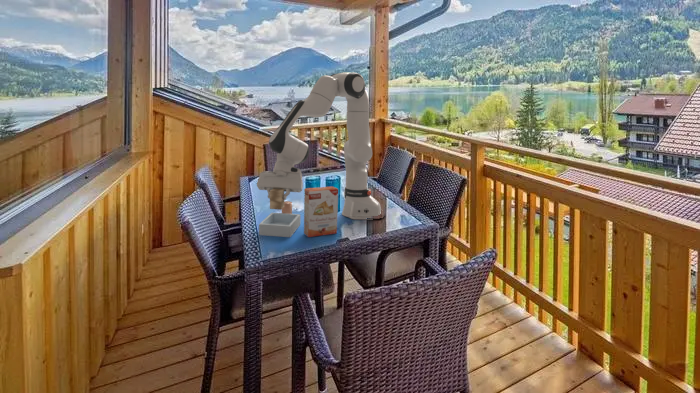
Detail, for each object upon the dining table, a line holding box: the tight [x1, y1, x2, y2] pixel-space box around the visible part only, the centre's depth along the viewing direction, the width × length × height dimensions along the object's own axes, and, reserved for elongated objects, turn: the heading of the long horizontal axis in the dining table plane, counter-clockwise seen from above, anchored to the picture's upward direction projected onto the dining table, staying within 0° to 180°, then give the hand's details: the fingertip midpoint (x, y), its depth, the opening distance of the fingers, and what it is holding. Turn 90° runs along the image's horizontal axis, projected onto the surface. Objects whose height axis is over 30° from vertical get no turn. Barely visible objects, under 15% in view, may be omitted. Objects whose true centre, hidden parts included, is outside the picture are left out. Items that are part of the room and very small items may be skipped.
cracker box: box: [303, 186, 339, 238], centre depth 178 cm, size 14×6×21 cm, turn 117°
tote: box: [258, 212, 301, 238], centre depth 184 cm, size 14×18×5 cm
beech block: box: [269, 188, 285, 211], centre depth 177 cm, size 5×5×8 cm
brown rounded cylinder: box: [281, 200, 293, 214], centre depth 197 cm, size 5×5×9 cm
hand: (276, 198), depth 176 cm, fingers closed on beech block, 5 cm apart
